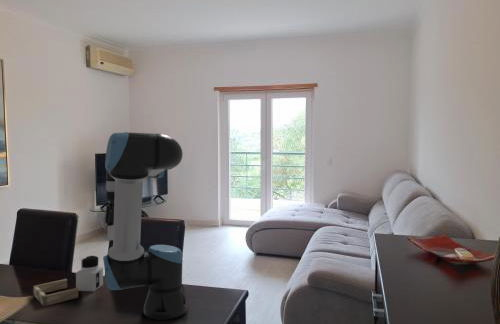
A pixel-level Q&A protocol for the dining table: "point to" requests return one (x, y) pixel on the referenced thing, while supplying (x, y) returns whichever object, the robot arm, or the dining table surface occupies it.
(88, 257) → the container
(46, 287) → the corral
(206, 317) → the dining table surface
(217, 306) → the dining table surface
